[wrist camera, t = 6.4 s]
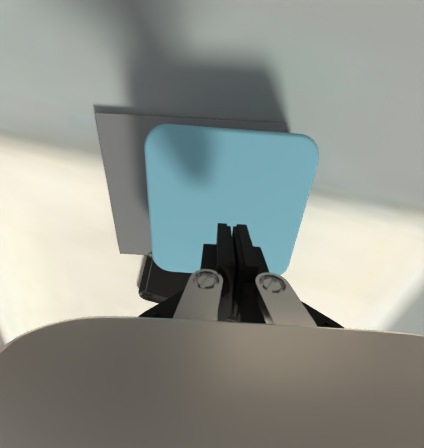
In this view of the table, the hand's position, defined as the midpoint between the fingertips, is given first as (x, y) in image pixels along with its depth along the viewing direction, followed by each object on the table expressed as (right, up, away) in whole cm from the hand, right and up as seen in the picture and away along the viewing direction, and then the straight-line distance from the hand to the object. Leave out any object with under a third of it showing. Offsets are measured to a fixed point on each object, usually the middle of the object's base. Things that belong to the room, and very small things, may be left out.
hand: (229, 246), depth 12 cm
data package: (+6, +3, +6) cm, 9 cm away
